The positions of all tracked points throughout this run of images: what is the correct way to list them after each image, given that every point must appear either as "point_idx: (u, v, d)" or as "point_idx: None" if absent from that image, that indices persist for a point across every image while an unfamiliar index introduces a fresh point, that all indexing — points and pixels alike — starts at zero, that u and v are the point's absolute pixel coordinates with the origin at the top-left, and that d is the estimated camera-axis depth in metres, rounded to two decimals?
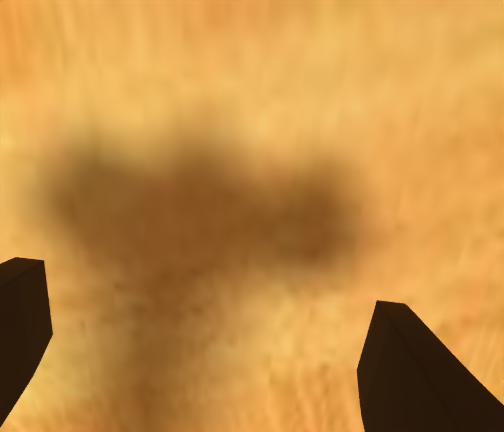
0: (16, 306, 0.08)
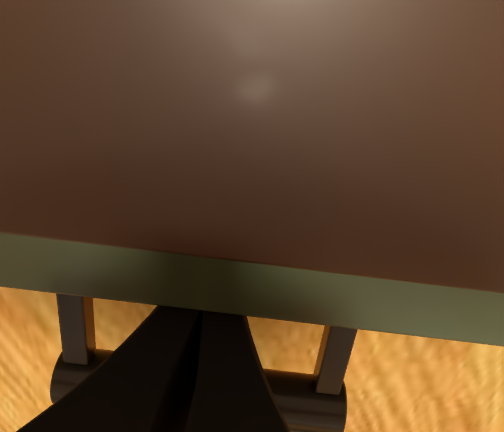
0: (200, 328, 0.09)
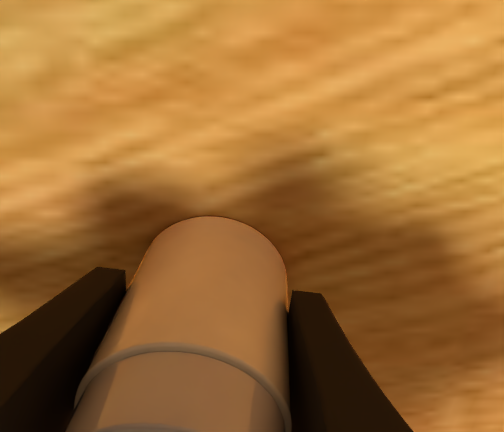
0: (106, 317, 0.08)
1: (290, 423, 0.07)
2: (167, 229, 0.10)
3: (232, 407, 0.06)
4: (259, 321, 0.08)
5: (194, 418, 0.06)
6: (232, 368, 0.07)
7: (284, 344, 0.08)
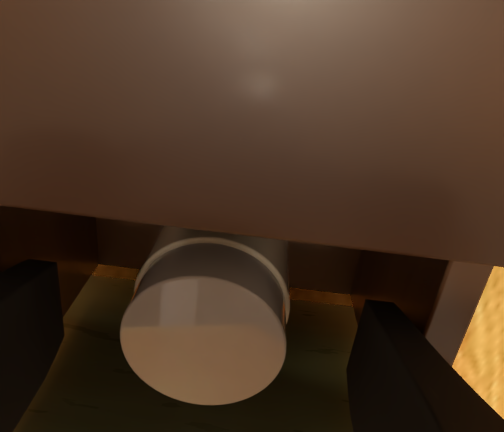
0: (30, 308, 0.08)
1: (288, 301, 0.10)
2: None
3: (249, 274, 0.09)
4: None
5: (225, 275, 0.08)
6: (248, 256, 0.10)
7: (284, 253, 0.11)
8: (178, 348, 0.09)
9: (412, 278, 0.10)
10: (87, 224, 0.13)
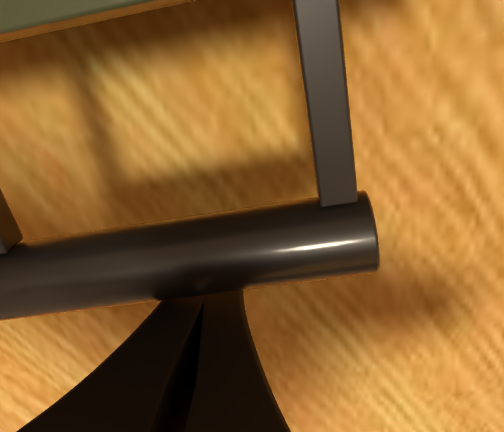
0: (200, 328, 0.09)
1: None
2: None
3: None
4: None
5: None
6: None
7: None
8: None
9: None
10: None
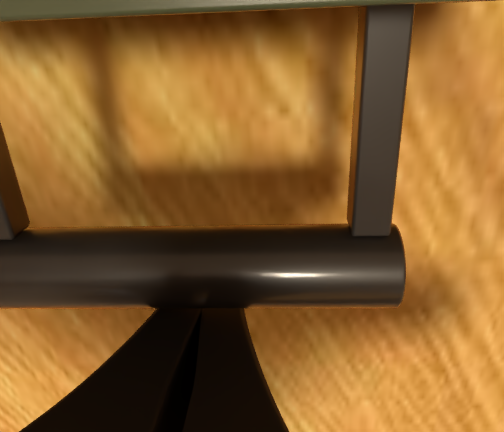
0: None
1: None
2: None
3: None
4: None
5: None
6: None
7: None
8: None
9: None
10: None
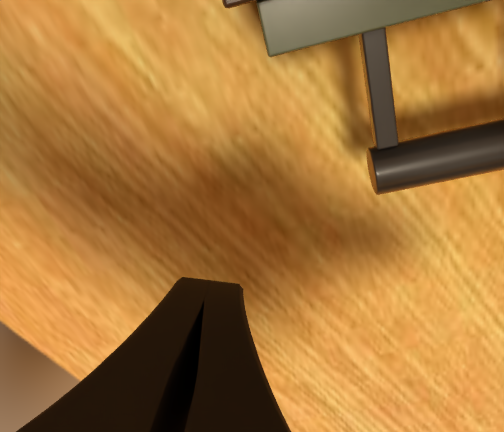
0: (200, 328, 0.09)
1: None
2: None
3: None
4: None
5: None
6: None
7: None
8: None
9: None
10: None
